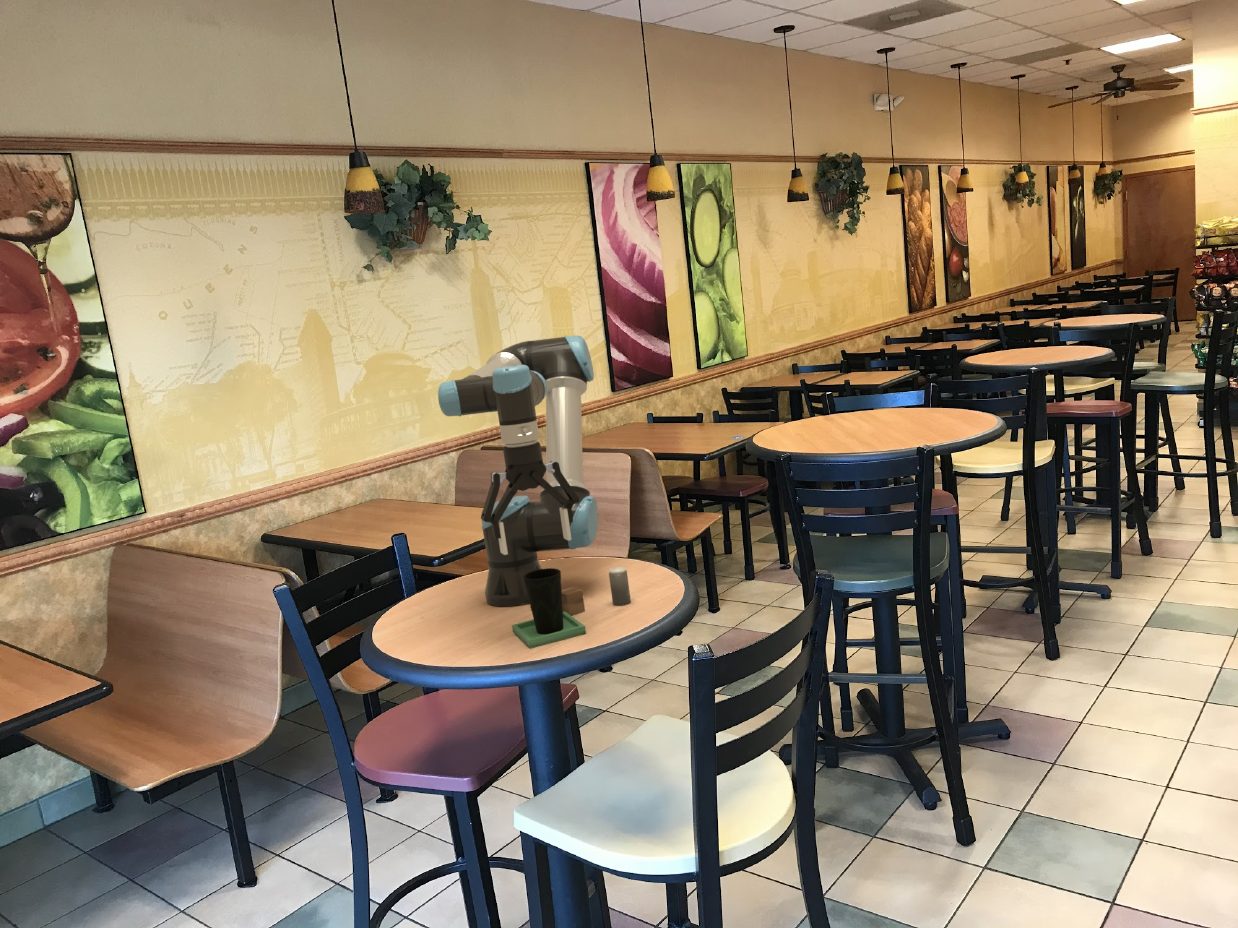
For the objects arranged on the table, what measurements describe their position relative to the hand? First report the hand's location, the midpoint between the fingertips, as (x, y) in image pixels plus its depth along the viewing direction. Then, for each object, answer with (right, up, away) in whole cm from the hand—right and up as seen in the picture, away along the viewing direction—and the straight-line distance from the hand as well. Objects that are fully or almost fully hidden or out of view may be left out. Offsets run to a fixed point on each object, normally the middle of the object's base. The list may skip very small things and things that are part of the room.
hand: (536, 546), depth 190 cm
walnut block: (+7, -16, +14) cm, 22 cm away
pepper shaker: (+17, -14, +16) cm, 28 cm away
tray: (+2, -18, +3) cm, 19 cm away
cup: (+3, -18, +3) cm, 18 cm away
